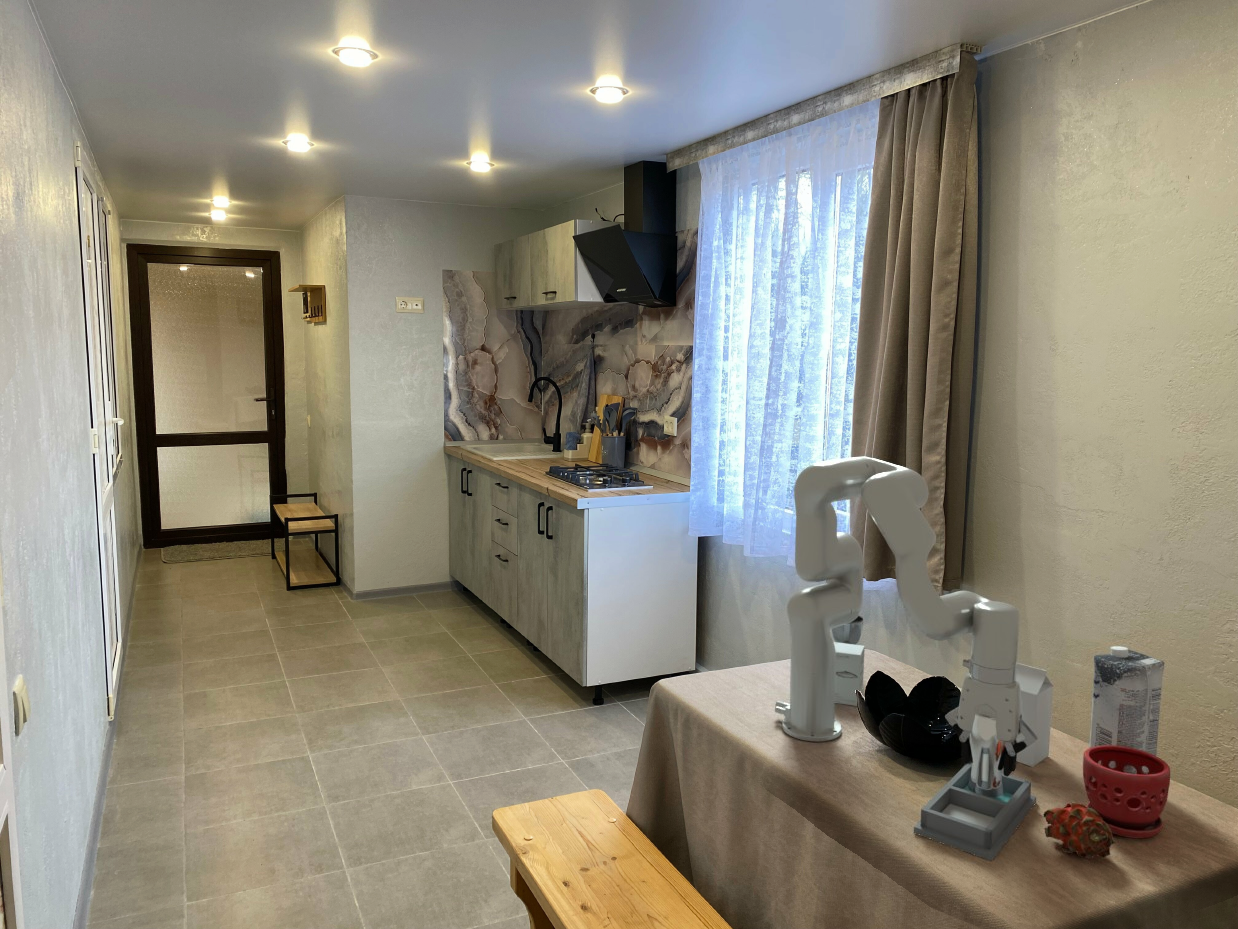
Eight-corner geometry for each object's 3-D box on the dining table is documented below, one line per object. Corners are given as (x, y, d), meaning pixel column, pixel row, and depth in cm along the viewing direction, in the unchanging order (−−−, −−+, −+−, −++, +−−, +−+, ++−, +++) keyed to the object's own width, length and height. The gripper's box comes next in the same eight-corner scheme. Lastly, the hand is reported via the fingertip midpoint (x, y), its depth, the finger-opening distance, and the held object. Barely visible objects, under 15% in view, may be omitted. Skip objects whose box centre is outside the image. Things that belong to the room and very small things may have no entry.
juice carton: (1161, 795, 166) (1172, 654, 162) (1120, 806, 162) (1131, 662, 158) (1118, 774, 174) (1127, 639, 171) (1078, 784, 170) (1087, 647, 167)
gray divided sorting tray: (913, 833, 154) (914, 810, 153) (964, 781, 172) (965, 760, 171) (991, 861, 146) (992, 837, 145) (1036, 803, 164) (1037, 781, 163)
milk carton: (1033, 767, 177) (1038, 675, 174) (997, 755, 182) (1002, 665, 180) (1048, 756, 182) (1054, 666, 179) (1014, 745, 187) (1019, 657, 184)
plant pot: (1180, 829, 154) (1186, 763, 153) (1139, 853, 148) (1144, 784, 146) (1105, 797, 165) (1110, 735, 164) (1064, 818, 158) (1068, 753, 157)
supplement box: (826, 703, 209) (828, 650, 208) (832, 691, 216) (833, 640, 214) (859, 707, 207) (861, 654, 205) (863, 696, 213) (865, 644, 212)
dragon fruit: (1110, 882, 142) (1045, 854, 153) (1136, 840, 145) (1070, 816, 156) (1086, 847, 140) (1021, 821, 151) (1113, 805, 143) (1048, 783, 154)
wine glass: (830, 680, 223) (831, 622, 221) (828, 668, 231) (829, 612, 229) (863, 682, 222) (864, 623, 220) (860, 670, 230) (861, 613, 228)
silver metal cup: (1011, 801, 158) (1015, 720, 156) (969, 797, 160) (973, 717, 158) (1002, 782, 165) (1007, 704, 163) (962, 779, 167) (966, 701, 164)
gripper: (936, 666, 162) (932, 760, 165) (1038, 690, 151) (1032, 790, 153) (952, 655, 168) (947, 746, 170) (1051, 677, 157) (1045, 774, 159)
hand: (987, 766), depth 162 cm, fingers closed on silver metal cup, 6 cm apart
